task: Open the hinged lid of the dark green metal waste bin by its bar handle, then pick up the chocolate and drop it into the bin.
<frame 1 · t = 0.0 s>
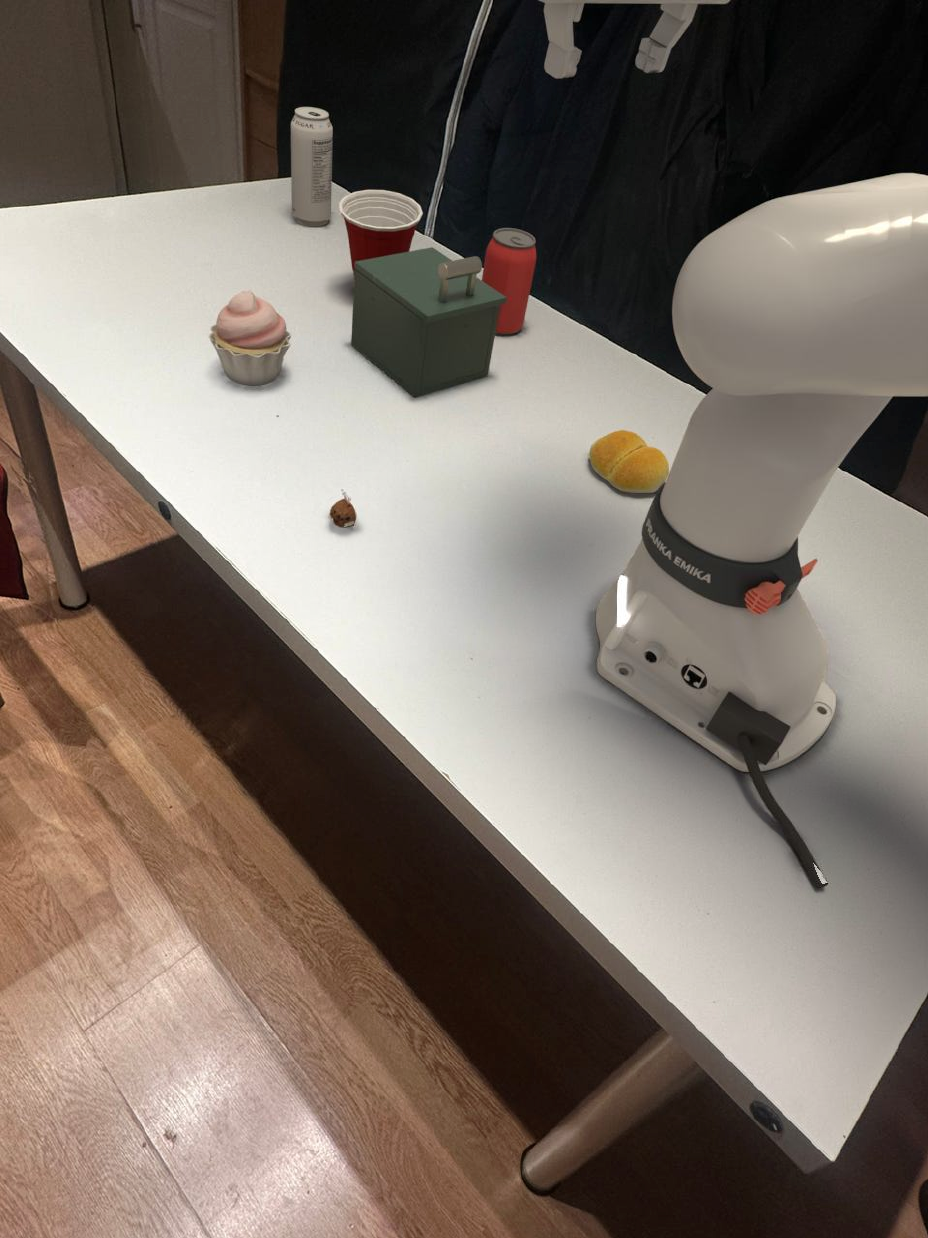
hand: (604, 72, 59), 39 cm above the table, tool pointing down, fingers open, 8 cm apart
cupcake: (253, 374, 97), on the table
bin lid: (431, 264, 95), point 12 cm above the table, hinge at 0.0°
beer can: (498, 326, 114), on the table
energy drink can: (311, 220, 129), on the table
plastic cup: (375, 296, 115), on the table
chocolate: (340, 526, 80), on the table
bread roll: (624, 473, 93), on the table
bin: (419, 360, 104), on the table
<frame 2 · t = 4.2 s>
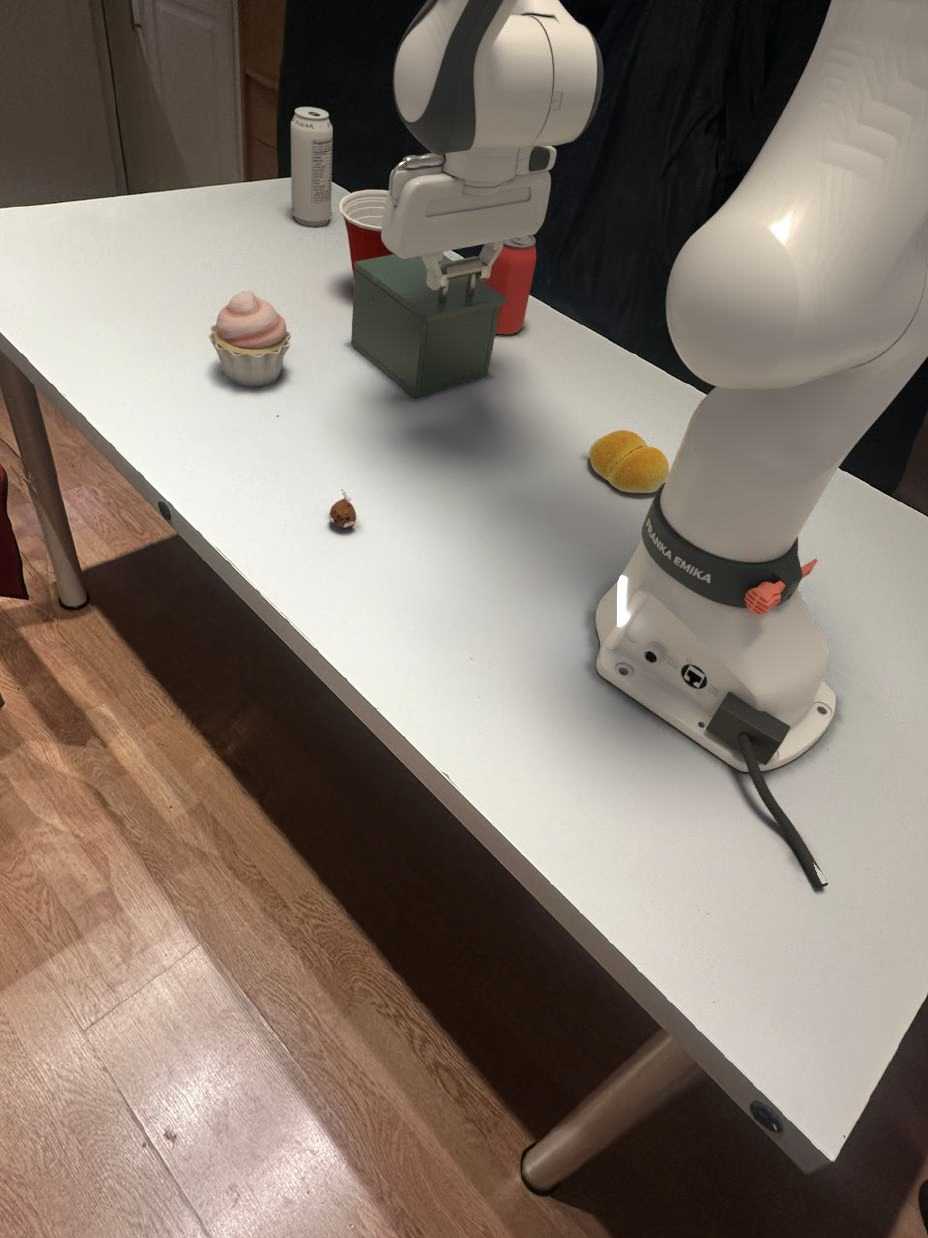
hand: (458, 282, 93), 12 cm above the table, tool pointing down, fingers closed on bin lid, 5 cm apart
bin lid: (431, 264, 95), point 12 cm above the table, hinge at 0.0°, touching gripper
everything else where it was.
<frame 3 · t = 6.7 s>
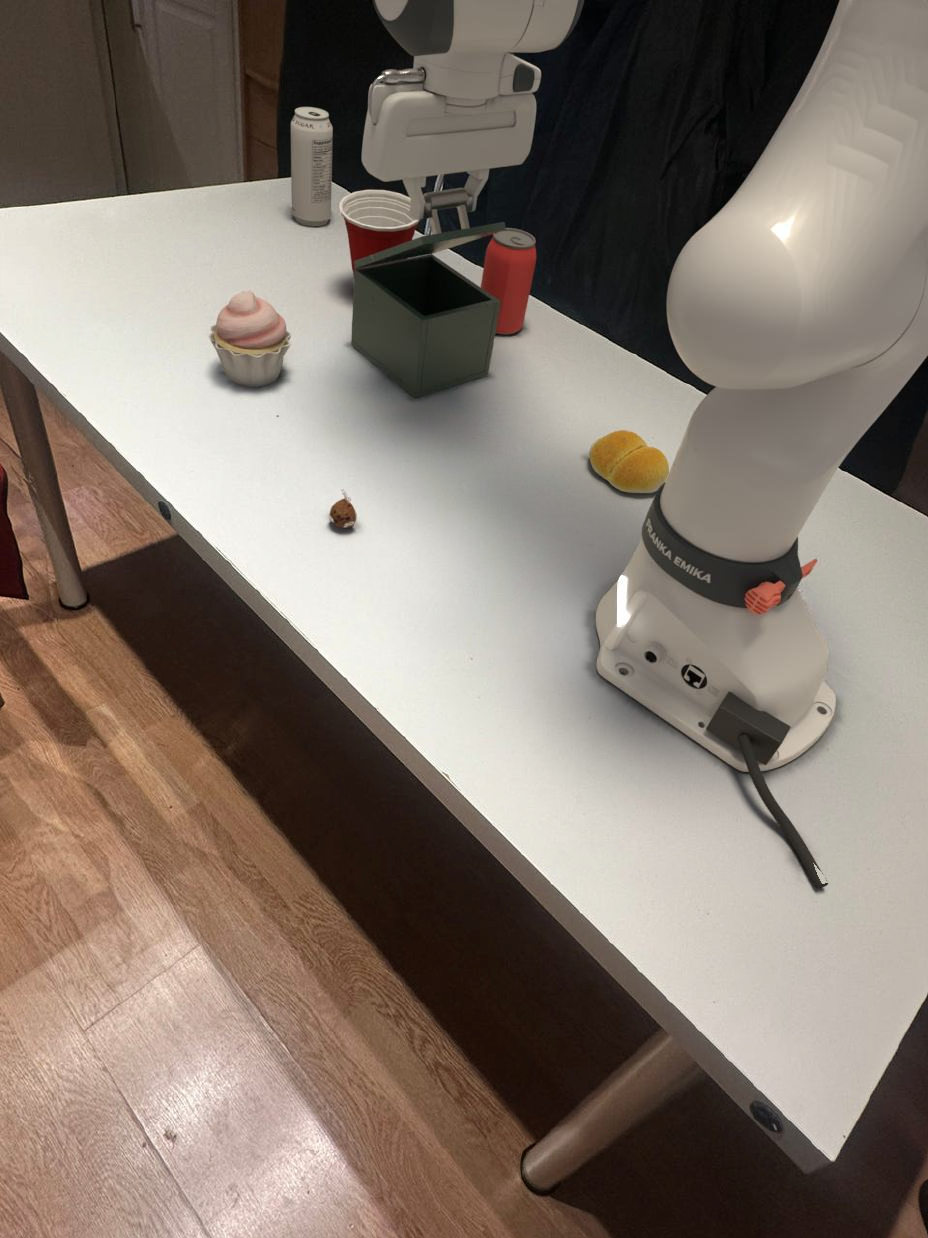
hand: (443, 213, 90), 18 cm above the table, tool pointing down, fingers closed on bin lid, 5 cm apart
bin lid: (423, 225, 94), point 16 cm above the table, hinge at 32.3°, touching gripper
everything else where it was.
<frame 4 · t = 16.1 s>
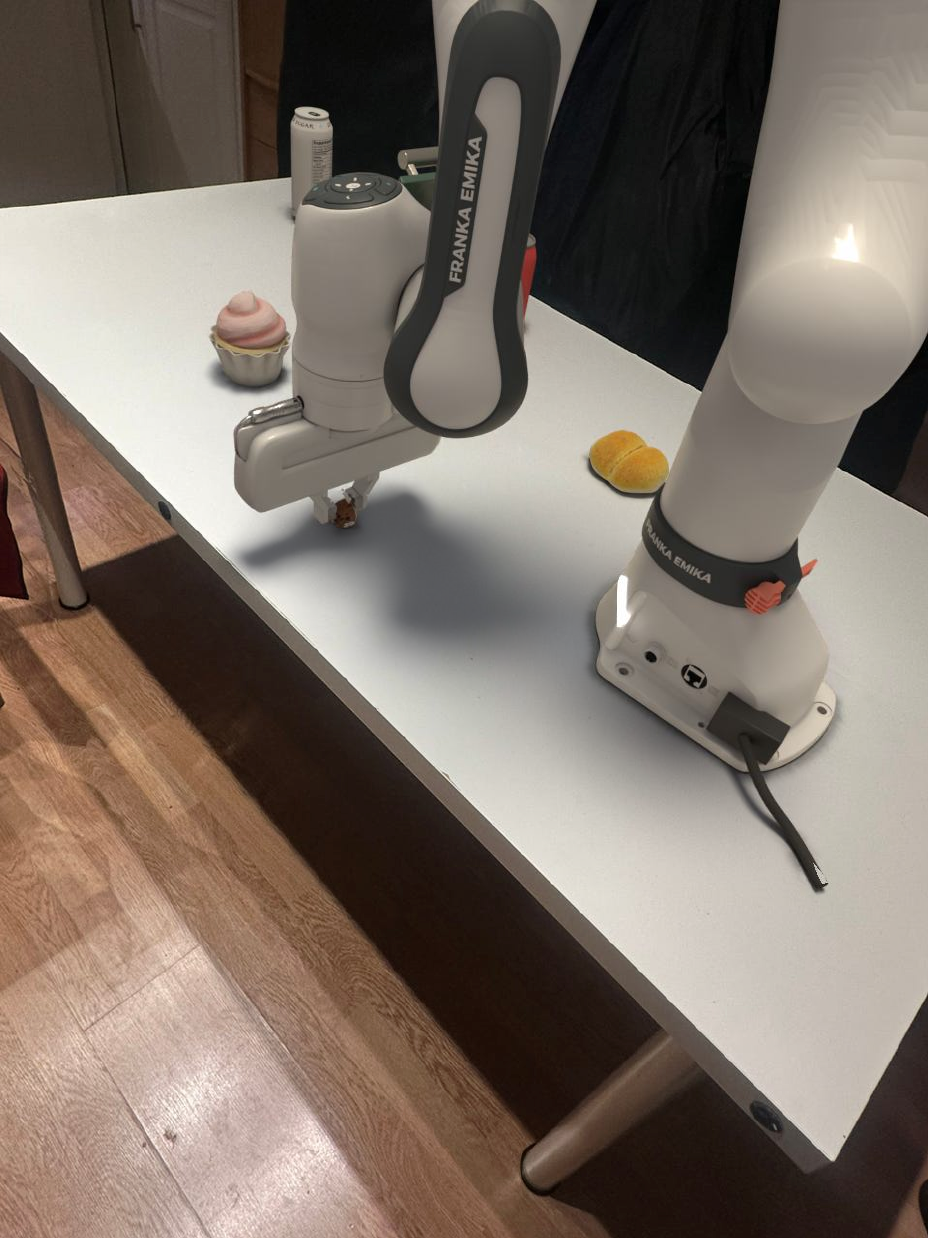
hand: (340, 512, 79), 2 cm above the table, tool pointing down, fingers closed on chocolate, 2 cm apart
bin lid: (409, 201, 94), point 17 cm above the table, hinge at 57.2°
chocolate: (340, 526, 80), on the table, touching gripper
everything else where it was.
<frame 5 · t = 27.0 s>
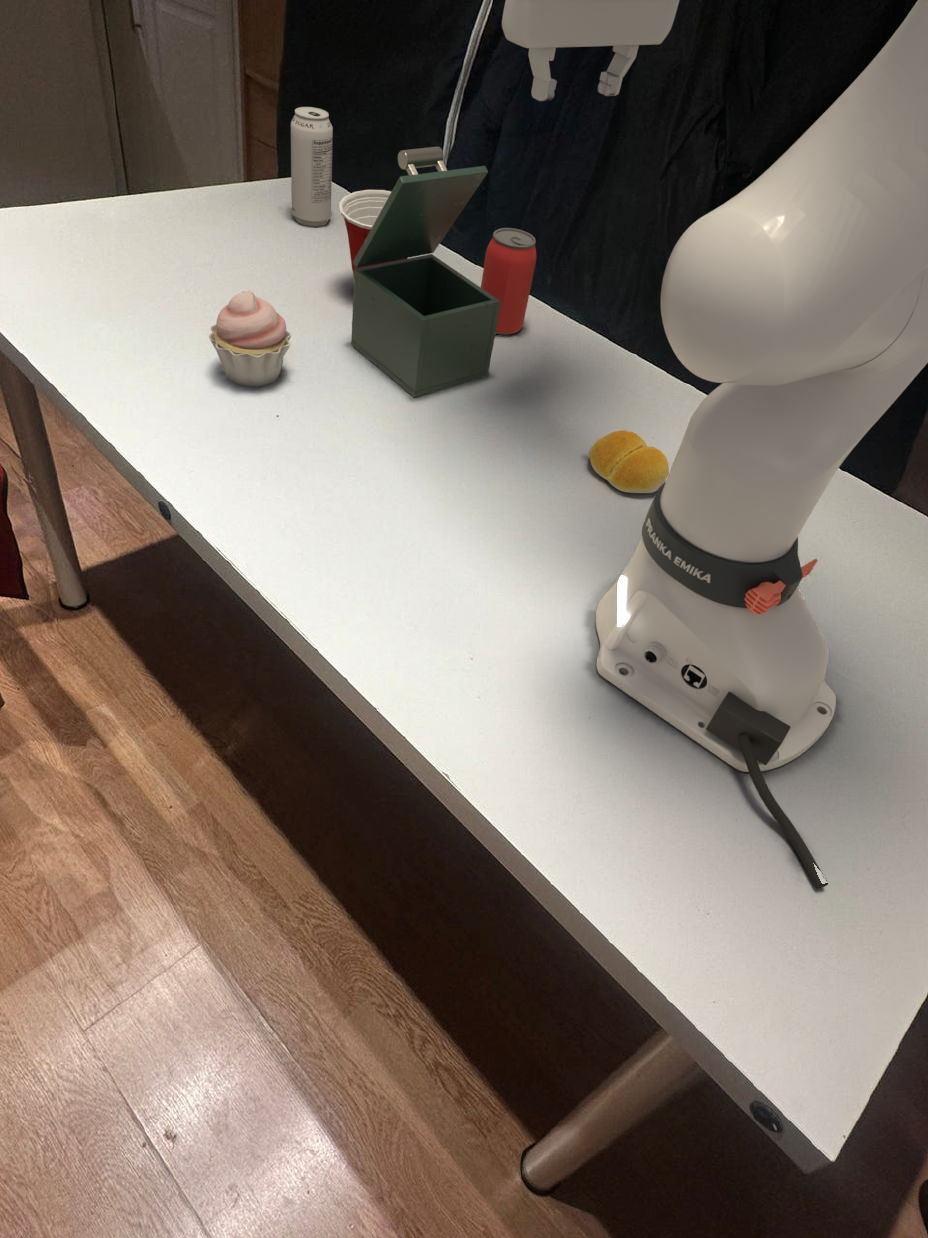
hand: (575, 96, 83), 31 cm above the table, tool pointing down, fingers open, 8 cm apart
chocolate: (446, 362, 101), point 2 cm above the table, touching bin
everything else where it was.
at the end: bin lid at +57° (first picture: +0°); chocolate inside the target area in the bin (4.1 cm from its centre), point 1.6 cm above the bin's base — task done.
